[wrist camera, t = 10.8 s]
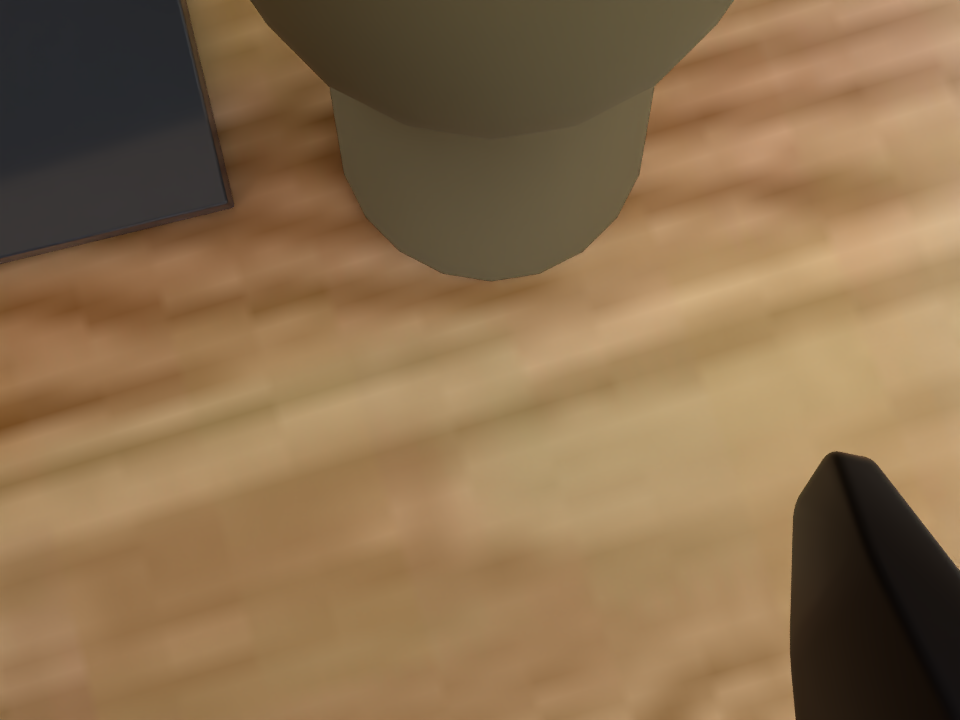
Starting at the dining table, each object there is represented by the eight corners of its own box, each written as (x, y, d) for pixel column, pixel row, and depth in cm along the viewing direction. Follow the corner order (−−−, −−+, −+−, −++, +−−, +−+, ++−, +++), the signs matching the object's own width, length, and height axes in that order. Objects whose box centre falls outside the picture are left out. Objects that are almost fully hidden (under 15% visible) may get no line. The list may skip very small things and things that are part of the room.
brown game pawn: (708, 92, 17) (1099, -408, 6) (525, 342, 17) (586, 295, 6) (458, -89, 17) (399, -902, 6) (275, 160, 17) (-108, -211, 6)
